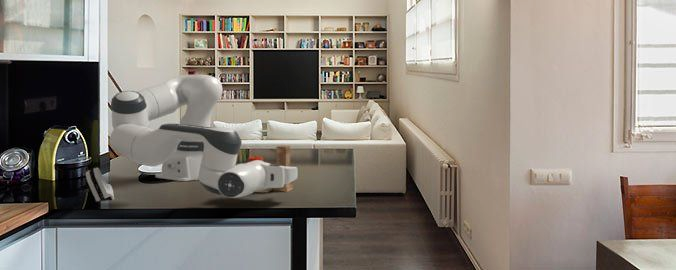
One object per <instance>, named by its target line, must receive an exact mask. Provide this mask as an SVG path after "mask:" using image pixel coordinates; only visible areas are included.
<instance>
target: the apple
mask: <svg viewBox="0 0 676 270" xmlns="http://www.w3.org/2000/svg"><path fill="white" fill-rule="evenodd" d="M255 160H260V161H263V162H264V158H263V157H262V156H256V155H254V156H253V155H252V156H249V157H248V158H247V163H248V162H251V161H255Z"/></svg>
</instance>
